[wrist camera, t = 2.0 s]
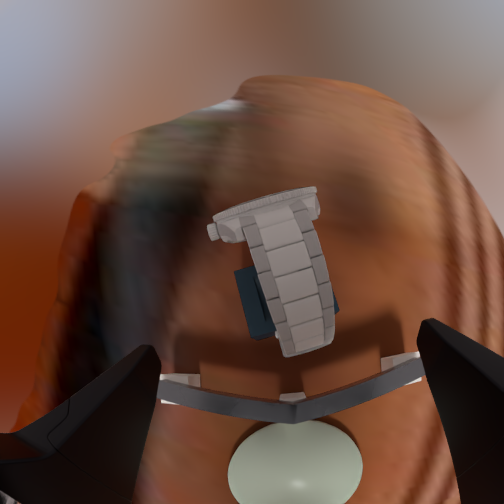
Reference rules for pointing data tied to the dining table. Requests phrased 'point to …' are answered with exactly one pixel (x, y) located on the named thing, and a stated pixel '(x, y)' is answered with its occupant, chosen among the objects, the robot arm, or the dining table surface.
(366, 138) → the dining table surface
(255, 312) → the watch
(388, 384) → the grey bent bar
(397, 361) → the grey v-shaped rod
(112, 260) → the dining table surface
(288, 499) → the mat
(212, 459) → the dining table surface
